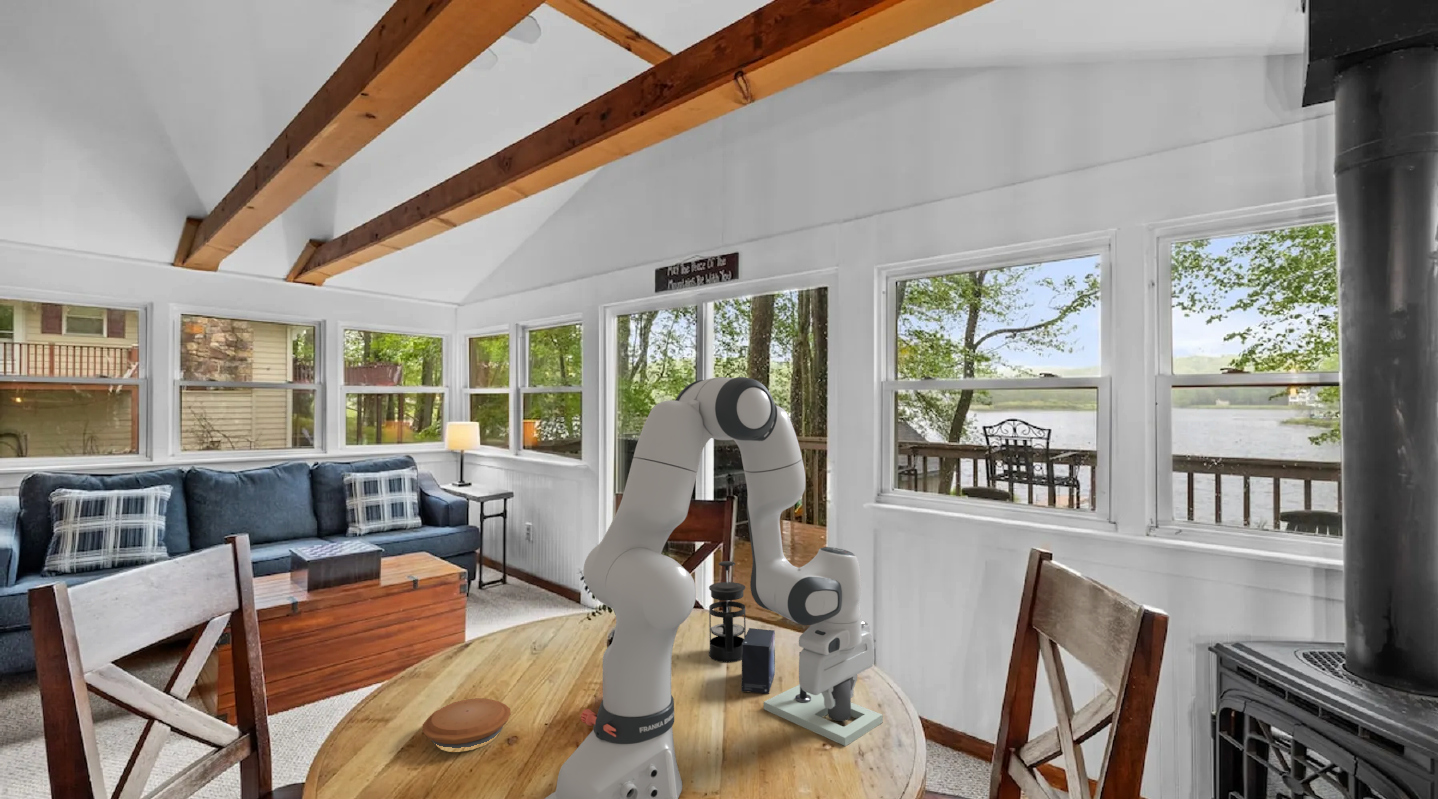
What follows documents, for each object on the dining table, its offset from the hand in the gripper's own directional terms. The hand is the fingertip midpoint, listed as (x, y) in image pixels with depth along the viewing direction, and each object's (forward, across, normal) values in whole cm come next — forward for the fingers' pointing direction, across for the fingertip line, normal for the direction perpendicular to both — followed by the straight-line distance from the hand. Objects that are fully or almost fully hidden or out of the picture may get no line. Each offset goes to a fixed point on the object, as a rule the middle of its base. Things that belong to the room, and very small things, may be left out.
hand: (839, 702), depth 126 cm
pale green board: (+4, 0, -4) cm, 6 cm away
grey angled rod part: (+2, -2, -9) cm, 9 cm away
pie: (+4, +54, -46) cm, 71 cm away
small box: (+4, -2, -23) cm, 23 cm away
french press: (+4, -8, -39) cm, 40 cm away
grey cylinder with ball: (+3, 0, 0) cm, 3 cm away
